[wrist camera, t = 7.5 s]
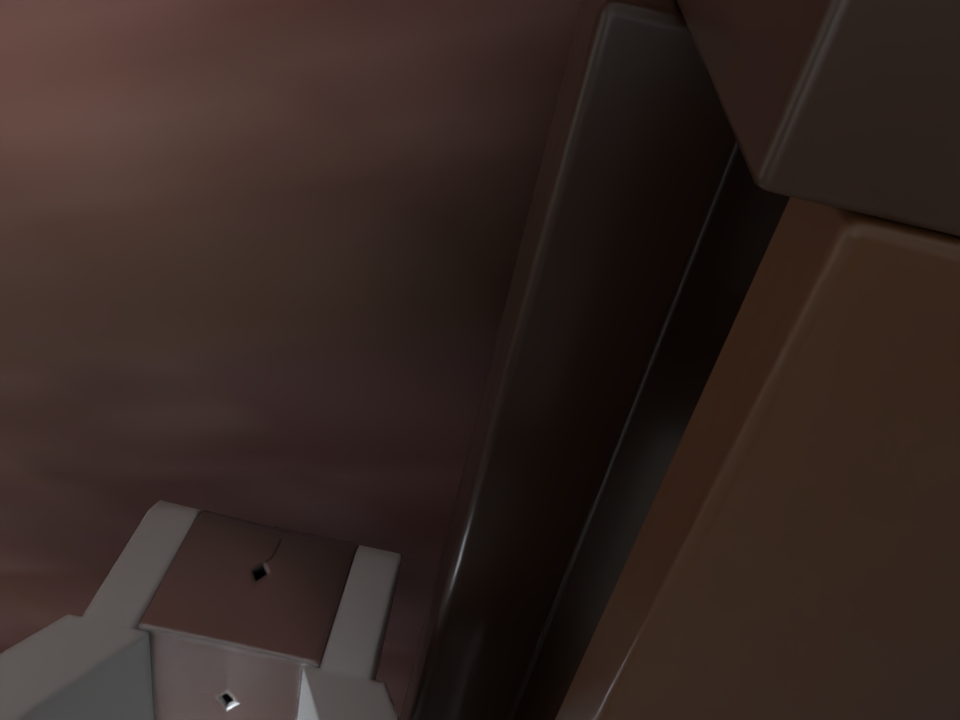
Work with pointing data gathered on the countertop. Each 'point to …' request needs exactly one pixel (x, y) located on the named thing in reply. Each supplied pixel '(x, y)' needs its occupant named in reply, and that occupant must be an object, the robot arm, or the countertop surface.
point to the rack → (722, 383)
